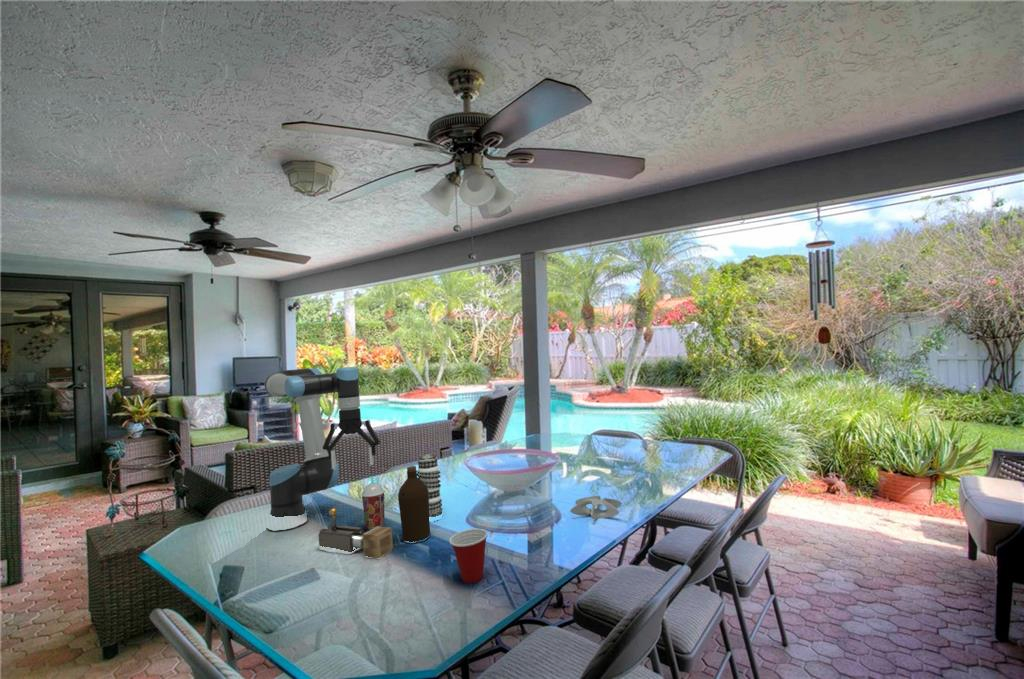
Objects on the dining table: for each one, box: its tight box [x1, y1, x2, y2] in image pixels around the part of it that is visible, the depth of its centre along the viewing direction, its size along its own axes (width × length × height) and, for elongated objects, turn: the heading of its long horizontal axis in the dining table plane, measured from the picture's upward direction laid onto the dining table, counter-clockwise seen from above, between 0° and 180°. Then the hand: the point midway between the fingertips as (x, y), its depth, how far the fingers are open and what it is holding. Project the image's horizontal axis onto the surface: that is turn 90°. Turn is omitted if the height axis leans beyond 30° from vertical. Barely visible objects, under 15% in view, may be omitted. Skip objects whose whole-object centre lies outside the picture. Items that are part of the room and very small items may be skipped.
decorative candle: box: [416, 453, 443, 517], centre depth 181 cm, size 9×9×25 cm
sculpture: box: [569, 495, 623, 520], centre depth 170 cm, size 18×20×6 cm
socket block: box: [363, 526, 394, 559], centre depth 152 cm, size 6×7×8 cm
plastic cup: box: [449, 528, 488, 584], centre depth 129 cm, size 11×11×12 cm
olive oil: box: [397, 465, 431, 542], centre depth 162 cm, size 11×11×25 cm
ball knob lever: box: [328, 507, 364, 549], centre depth 157 cm, size 16×4×12 cm, turn 66°
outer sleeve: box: [318, 524, 365, 552], centre depth 158 cm, size 14×6×7 cm, turn 66°
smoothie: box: [361, 475, 386, 528], centre depth 175 cm, size 8×8×20 cm
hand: (353, 466), depth 170 cm, fingers open, 13 cm apart
